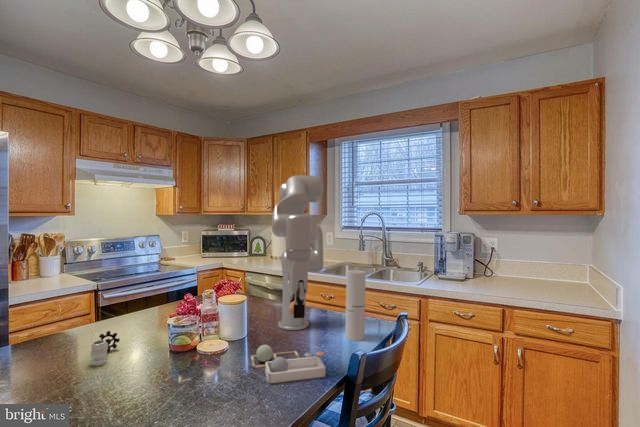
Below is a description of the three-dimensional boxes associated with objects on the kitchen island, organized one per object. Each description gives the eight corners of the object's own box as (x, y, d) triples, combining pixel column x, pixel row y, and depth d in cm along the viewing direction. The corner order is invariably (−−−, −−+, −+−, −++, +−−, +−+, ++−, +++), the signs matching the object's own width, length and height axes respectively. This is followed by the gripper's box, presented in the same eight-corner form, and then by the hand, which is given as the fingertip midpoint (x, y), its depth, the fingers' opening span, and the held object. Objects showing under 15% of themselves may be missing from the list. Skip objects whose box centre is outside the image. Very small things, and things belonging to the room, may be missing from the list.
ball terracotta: (287, 314, 103) (287, 298, 103) (303, 313, 104) (303, 297, 104) (290, 319, 98) (290, 302, 98) (306, 318, 99) (307, 302, 99)
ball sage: (255, 358, 105) (255, 342, 105) (271, 357, 106) (271, 341, 106) (256, 365, 100) (257, 349, 100) (273, 364, 102) (273, 347, 102)
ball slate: (269, 372, 96) (269, 354, 96) (286, 370, 98) (286, 353, 98) (271, 380, 91) (272, 362, 91) (289, 378, 93) (289, 360, 93)
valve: (108, 365, 100) (119, 349, 111) (109, 343, 99) (120, 329, 111) (83, 368, 97) (97, 351, 109) (83, 346, 97) (97, 331, 109)
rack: (250, 358, 106) (250, 355, 106) (296, 353, 110) (296, 350, 110) (252, 369, 98) (252, 366, 98) (301, 364, 103) (301, 361, 103)
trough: (265, 371, 97) (265, 361, 97) (318, 365, 102) (318, 356, 102) (268, 385, 90) (268, 374, 90) (325, 378, 94) (325, 367, 94)
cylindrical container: (363, 341, 121) (365, 273, 121) (344, 339, 123) (345, 272, 123) (364, 334, 128) (366, 270, 128) (346, 333, 130) (347, 269, 130)
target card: (299, 353, 111) (299, 351, 111) (325, 350, 113) (325, 348, 113) (303, 361, 105) (303, 359, 105) (330, 358, 107) (330, 356, 107)
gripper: (281, 252, 108) (280, 308, 108) (291, 259, 92) (289, 324, 92) (304, 252, 110) (303, 306, 110) (317, 258, 94) (315, 323, 94)
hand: (297, 314), depth 101 cm, fingers closed on ball terracotta, 5 cm apart
